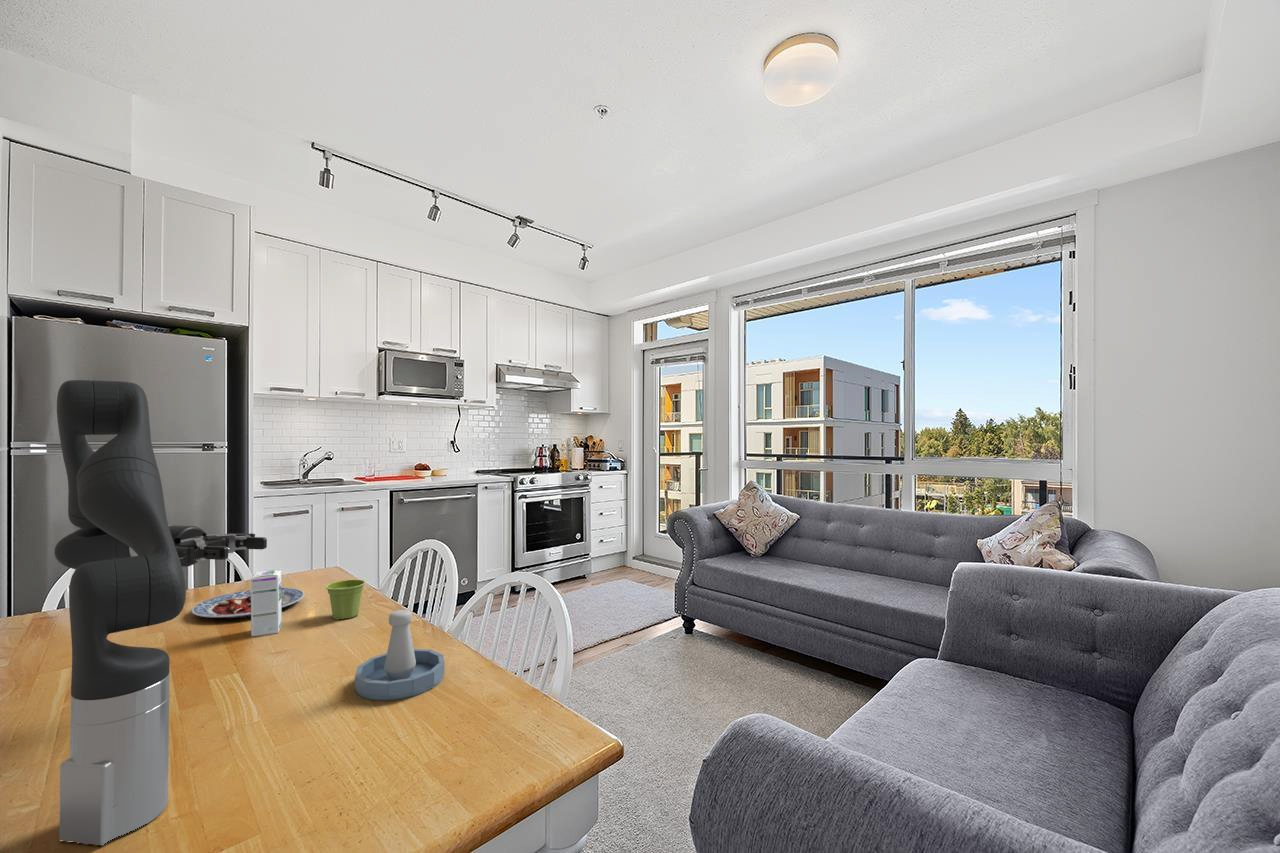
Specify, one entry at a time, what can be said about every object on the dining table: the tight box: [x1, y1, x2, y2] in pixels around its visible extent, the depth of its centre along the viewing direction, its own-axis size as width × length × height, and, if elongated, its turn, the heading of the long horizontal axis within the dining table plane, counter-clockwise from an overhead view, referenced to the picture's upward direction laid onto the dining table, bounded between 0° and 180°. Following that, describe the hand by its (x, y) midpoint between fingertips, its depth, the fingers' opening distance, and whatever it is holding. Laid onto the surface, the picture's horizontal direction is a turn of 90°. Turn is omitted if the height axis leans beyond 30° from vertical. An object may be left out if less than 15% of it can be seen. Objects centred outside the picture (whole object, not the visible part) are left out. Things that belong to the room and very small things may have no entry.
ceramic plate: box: [191, 587, 305, 619], centre depth 154 cm, size 26×26×3 cm
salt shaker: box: [384, 609, 416, 681], centre depth 109 cm, size 6×6×13 cm
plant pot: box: [325, 579, 366, 620], centre depth 148 cm, size 9×9×9 cm
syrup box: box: [250, 569, 283, 637], centre depth 136 cm, size 6×6×14 cm
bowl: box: [354, 648, 445, 702], centre depth 109 cm, size 16×16×3 cm
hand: (246, 548), depth 102 cm, fingers open, 8 cm apart
